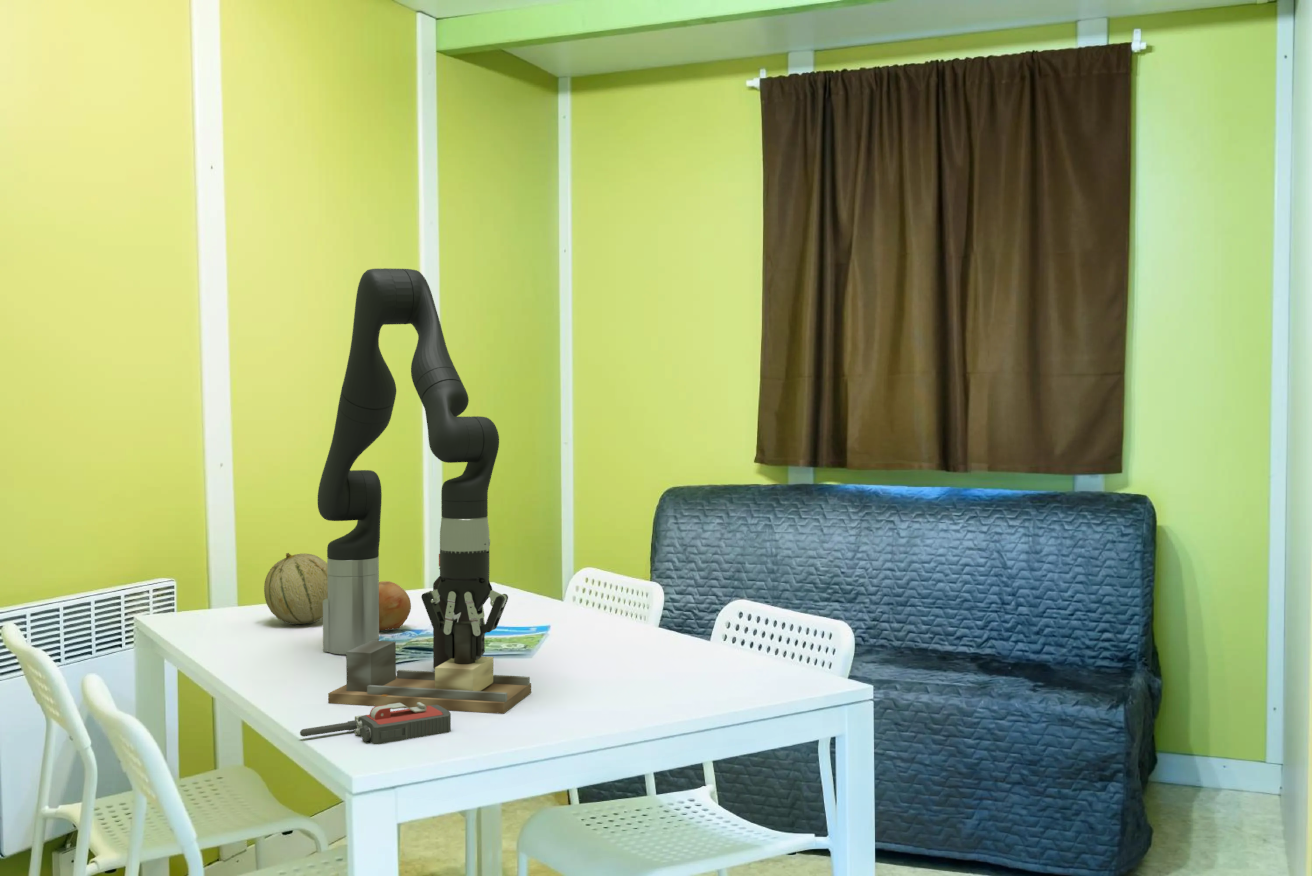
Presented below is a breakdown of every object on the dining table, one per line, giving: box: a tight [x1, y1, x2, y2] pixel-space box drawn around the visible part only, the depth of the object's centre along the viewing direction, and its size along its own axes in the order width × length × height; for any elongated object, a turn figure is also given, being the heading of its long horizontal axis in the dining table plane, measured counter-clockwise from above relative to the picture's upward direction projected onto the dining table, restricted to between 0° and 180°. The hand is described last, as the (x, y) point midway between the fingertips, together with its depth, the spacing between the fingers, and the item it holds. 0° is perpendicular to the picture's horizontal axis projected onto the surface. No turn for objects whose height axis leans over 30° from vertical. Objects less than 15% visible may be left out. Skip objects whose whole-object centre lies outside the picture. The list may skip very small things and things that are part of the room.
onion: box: [379, 580, 412, 632], centre depth 236 cm, size 10×10×10 cm
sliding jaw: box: [434, 621, 494, 691], centre depth 180 cm, size 6×9×10 cm, turn 168°
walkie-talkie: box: [299, 702, 452, 745], centre depth 161 cm, size 9×4×20 cm
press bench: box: [327, 640, 532, 715], centre depth 182 cm, size 28×13×8 cm, turn 78°
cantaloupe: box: [263, 552, 328, 625], centre depth 243 cm, size 15×15×15 cm
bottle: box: [432, 553, 471, 671], centre depth 201 cm, size 7×7×20 cm
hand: (464, 657), depth 180 cm, fingers closed on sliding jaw, 3 cm apart
